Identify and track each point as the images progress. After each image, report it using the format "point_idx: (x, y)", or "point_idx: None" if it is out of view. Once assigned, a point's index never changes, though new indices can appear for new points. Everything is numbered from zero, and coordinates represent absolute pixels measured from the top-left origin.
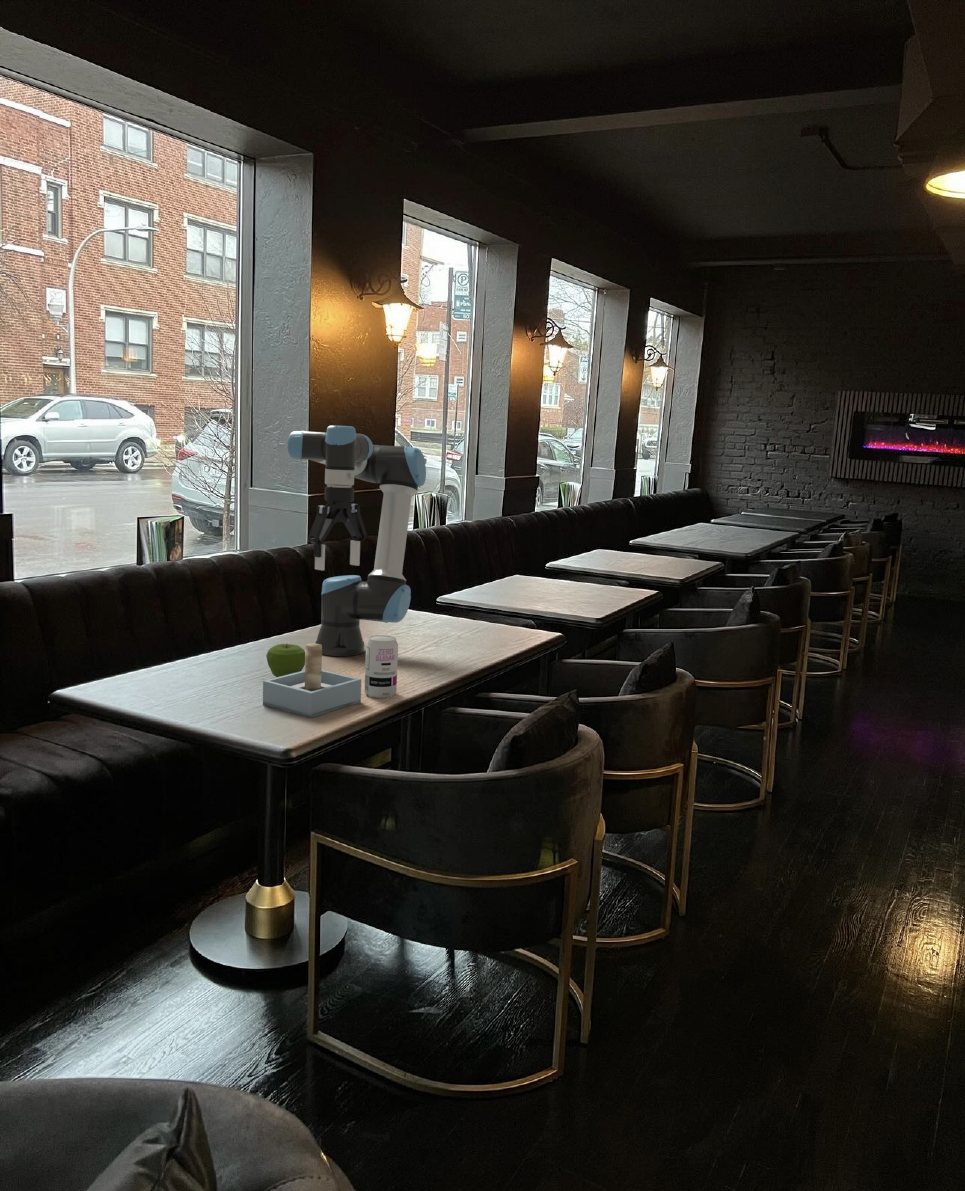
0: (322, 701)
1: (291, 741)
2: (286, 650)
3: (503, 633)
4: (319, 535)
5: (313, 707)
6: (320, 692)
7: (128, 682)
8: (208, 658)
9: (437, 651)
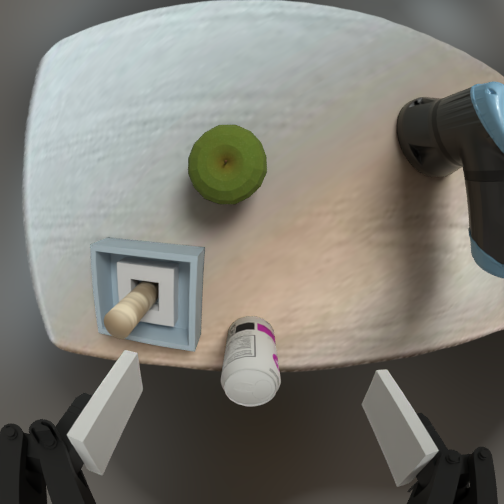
0: None
1: (63, 338)
2: (203, 180)
3: None
4: (43, 494)
5: None
6: None
7: (98, 42)
8: (258, 8)
9: None
